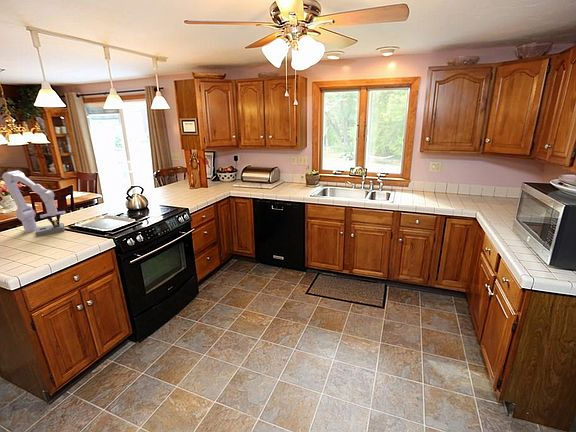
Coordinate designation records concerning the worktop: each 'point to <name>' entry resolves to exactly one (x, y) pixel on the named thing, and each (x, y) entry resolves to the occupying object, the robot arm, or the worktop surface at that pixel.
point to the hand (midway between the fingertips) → (56, 225)
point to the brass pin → (55, 223)
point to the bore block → (49, 229)
